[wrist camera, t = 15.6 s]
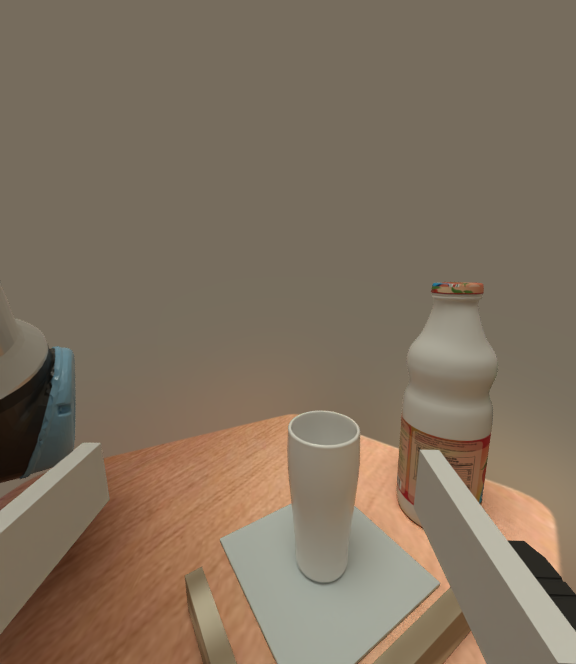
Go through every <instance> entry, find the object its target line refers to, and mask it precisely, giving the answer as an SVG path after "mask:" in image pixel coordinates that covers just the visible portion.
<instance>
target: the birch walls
mask: <svg viewBox="0 0 576 664" xmlns="http://www.w3.org/2000/svg"><path fill="white" fill-rule="evenodd" d="M185 582H186V593H187V603H188V609H189V613H190V617H191V620H192V624H193V628H194V631H195V635H196V638H197V642H198V646H199V649H200V653H201V657H202V660H203V664H237V663H236V660H235V657H234V654H233V651H232V649H231V646H230V643H229V640H228V638H227V635H226V632H225V629H224V627H223V624H222V621H221V618H220V615H219V613H218V610H217V607H216V604H215V602H214V599H213V596H212V593H211V590H210V588H209V585H208V582H207V579H206V577H205V574H204V571H203V568H202V567H200V568H198V569H196V570H195V571H193V572H191V573H189V574H187V575H185ZM470 631H471V629H470V627H469V625H468V623H467V621H466V619H465V616H464V614H463V612H462V610H461V608H460V606H459V604H458V601H457V599H456V597H455V595H454V593H453V591H452V589H451V587H450V588H449V589H448V590H447V591H446V592H445V593H444V594H443V595H442V596H441V597H440V598H439V599H438V600H437V601H436V602H435V603H434V604H433V605H432V606H431V607H430V608H429V609H428V610H427V611H426V612H425V613H424V614H423V615H422V616H421V617H420V618H419V619H418V620H417V621H416V622H414V623H413V624H412V625H411V626H410V627H409V628H408V629H407V630H406V631H405V632H404V633H403V634H402V635H401V636H400V637H399V638H398V639H397V640H396V641H395V642H394V643H393V644H392V645H391V646H390V647H389V648H388V649H387V650H386V651H385V652H384V653H383V654H382V655H381V656H380V657H379V658H378V659H377V660H376V661H375V662H374V663H373V664H443V663H444V662H445V660H446V659H447V658H448V657H449V656H450V654H451V653H452V652H453V651H454V650H455V649H456V647H457V646H458V645H459V644H460V643H461V641H462V640H463V639H464V638H465V637H466V636H467V634H468V633H469V632H470Z"/></svg>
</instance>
